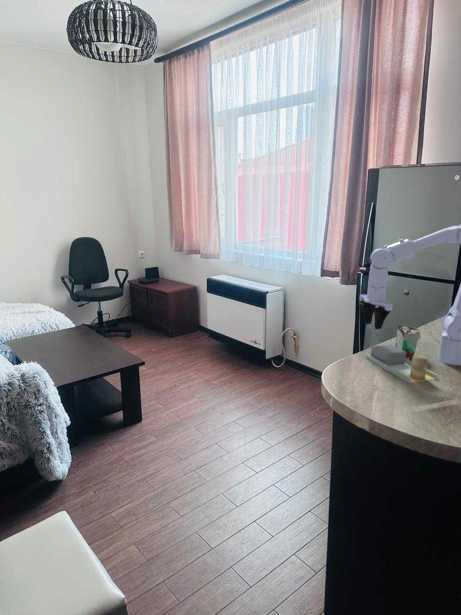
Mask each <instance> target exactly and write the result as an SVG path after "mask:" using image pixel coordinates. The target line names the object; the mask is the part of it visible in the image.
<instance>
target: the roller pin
mask: <svg viewBox="0 0 461 615" xmlns="http://www.w3.org/2000/svg"><path fill="white" fill-rule="evenodd" d="M411 361H412V365H411V372H410V377H411V378H413V379H416V380H424V379H425V375H426V369H428V368H427V366H428V357H426V356H425V355H420V354H418V355H416V354H414V356H413V357H412V359H411Z"/></svg>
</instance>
